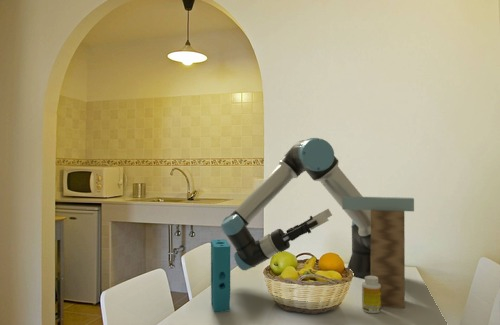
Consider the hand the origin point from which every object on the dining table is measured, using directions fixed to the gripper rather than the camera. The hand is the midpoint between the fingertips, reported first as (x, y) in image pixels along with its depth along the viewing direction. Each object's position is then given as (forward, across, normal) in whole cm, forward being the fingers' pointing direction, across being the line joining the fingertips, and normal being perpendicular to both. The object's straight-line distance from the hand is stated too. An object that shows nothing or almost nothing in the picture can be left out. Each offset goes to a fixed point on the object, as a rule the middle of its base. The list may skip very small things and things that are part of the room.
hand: (328, 214), depth 135 cm
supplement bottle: (-2, +9, -31) cm, 33 cm away
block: (-42, +19, -8) cm, 46 cm away
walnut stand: (+2, 0, -34) cm, 34 cm away
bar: (+14, 0, -6) cm, 16 cm away
